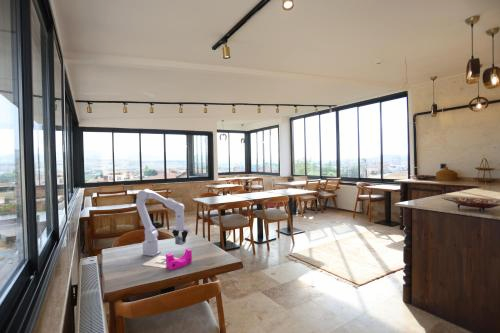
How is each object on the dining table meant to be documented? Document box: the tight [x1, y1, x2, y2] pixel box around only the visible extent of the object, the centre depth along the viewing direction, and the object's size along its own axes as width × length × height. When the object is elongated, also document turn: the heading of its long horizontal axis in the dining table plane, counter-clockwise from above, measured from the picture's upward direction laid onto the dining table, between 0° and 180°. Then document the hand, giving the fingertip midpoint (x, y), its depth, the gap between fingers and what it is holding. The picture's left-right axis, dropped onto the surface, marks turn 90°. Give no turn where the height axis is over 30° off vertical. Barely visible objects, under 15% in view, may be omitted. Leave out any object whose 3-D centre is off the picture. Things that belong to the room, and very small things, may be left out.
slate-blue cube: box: [174, 234, 187, 246], centre depth 188 cm, size 5×5×5 cm
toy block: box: [165, 248, 193, 271], centre depth 167 cm, size 15×6×8 cm, turn 130°
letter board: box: [141, 255, 180, 269], centre depth 173 cm, size 17×16×1 cm
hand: (180, 241), depth 188 cm, fingers closed on slate-blue cube, 5 cm apart
